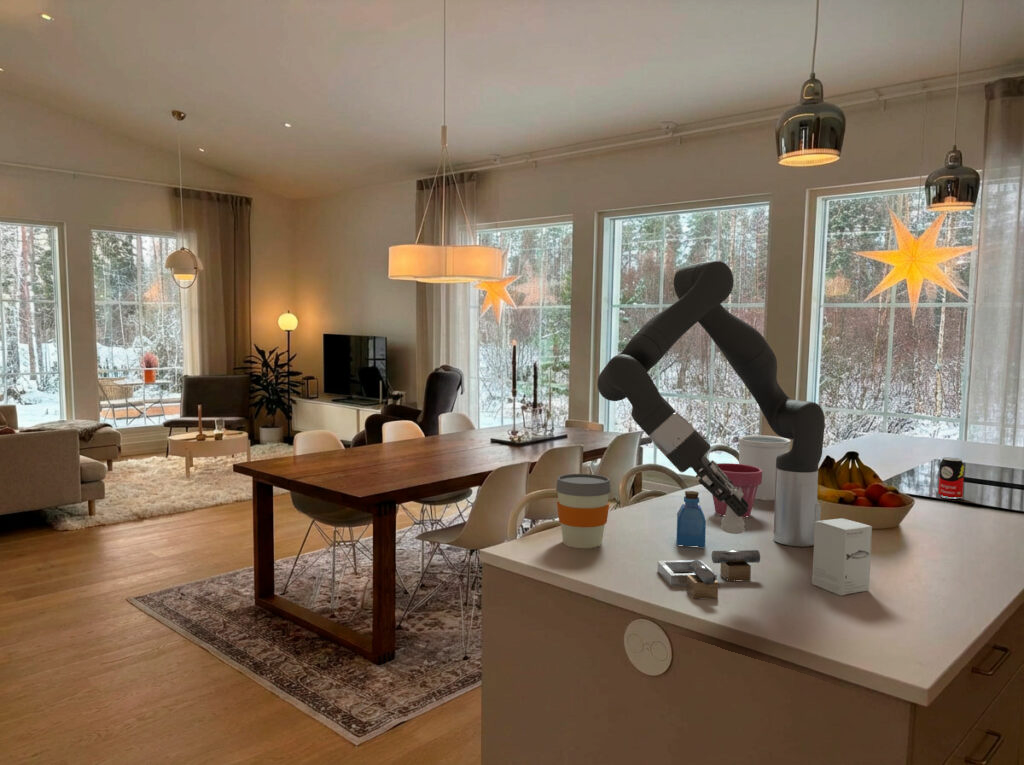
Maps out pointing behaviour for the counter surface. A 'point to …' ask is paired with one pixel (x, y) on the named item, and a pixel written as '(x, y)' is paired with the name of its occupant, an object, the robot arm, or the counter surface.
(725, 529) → the rook chess piece
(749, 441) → the utensil holder
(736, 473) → the plant pot
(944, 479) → the beverage can
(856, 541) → the supplement box
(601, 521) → the reusable coffee cup
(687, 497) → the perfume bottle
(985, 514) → the counter surface
